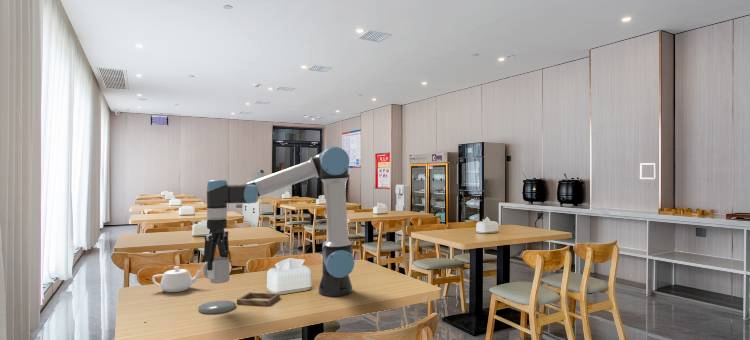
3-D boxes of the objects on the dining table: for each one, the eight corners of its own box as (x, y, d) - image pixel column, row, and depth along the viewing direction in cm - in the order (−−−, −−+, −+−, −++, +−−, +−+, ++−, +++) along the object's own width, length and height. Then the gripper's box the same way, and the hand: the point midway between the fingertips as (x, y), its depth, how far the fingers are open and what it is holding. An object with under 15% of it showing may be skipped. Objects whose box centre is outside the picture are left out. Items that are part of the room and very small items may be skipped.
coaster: (241, 303, 177) (241, 301, 177) (223, 314, 163) (223, 312, 163) (211, 302, 180) (211, 299, 180) (190, 312, 166) (190, 310, 166)
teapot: (149, 295, 189) (149, 271, 189) (154, 288, 202) (154, 265, 202) (202, 291, 196) (202, 267, 196) (204, 284, 209) (204, 261, 209)
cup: (228, 283, 168) (227, 260, 168) (201, 284, 166) (200, 261, 167) (230, 278, 175) (230, 256, 176) (204, 279, 174) (204, 257, 174)
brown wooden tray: (279, 298, 185) (279, 293, 185) (268, 305, 174) (268, 301, 174) (249, 296, 188) (249, 292, 188) (236, 304, 177) (236, 299, 177)
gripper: (221, 215, 182) (221, 269, 182) (193, 221, 162) (193, 281, 162) (238, 216, 181) (238, 270, 181) (211, 221, 161) (211, 282, 161)
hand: (216, 275), depth 171 cm, fingers closed on cup, 7 cm apart
